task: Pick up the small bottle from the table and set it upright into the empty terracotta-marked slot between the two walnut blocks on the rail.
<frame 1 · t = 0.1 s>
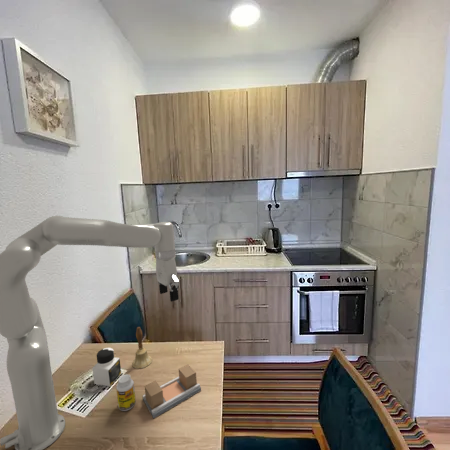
hand: (168, 296, 101), 31 cm above the table, fingers open, 9 cm apart
medicine bottle: (108, 379, 102), on the table
hand bell: (142, 362, 111), on the table
supplement bottle: (127, 405, 88), on the table
rail: (172, 394, 92), on the table
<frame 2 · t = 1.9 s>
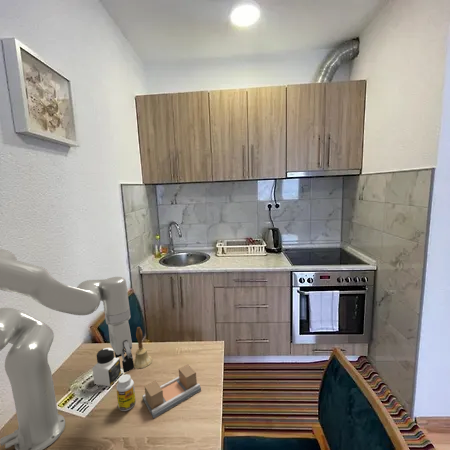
hand: (124, 362, 87), 16 cm above the table, fingers open, 9 cm apart
nothing on the table moved.
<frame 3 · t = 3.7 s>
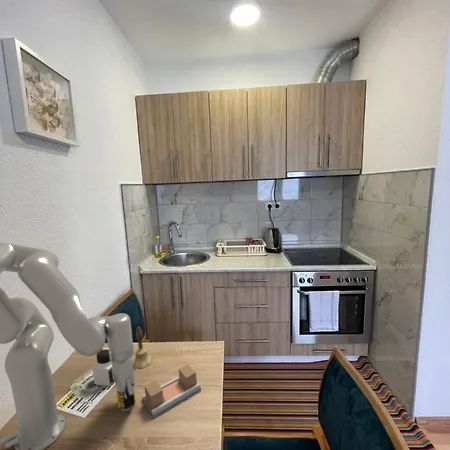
hand: (126, 399, 88), 2 cm above the table, fingers closed on supplement bottle, 5 cm apart
supplement bottle: (127, 405, 88), on the table, touching gripper
everything else where it was.
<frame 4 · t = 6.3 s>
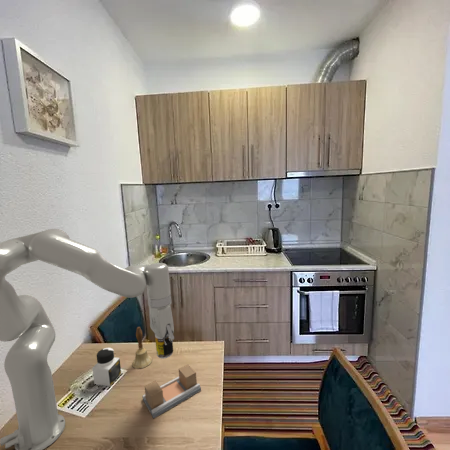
hand: (164, 349, 89), 18 cm above the table, fingers closed on supplement bottle, 5 cm apart
supplement bottle: (165, 354, 90), point 16 cm above the table, touching gripper
everything else where it was.
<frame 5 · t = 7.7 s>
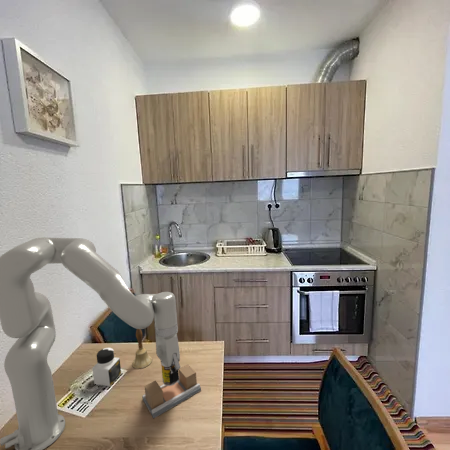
hand: (170, 375, 91), 7 cm above the table, fingers closed on supplement bottle, 5 cm apart
supplement bottle: (170, 381, 91), point 5 cm above the table, touching gripper
everything else where it was.
when the fingers open (4 cm above the table, at t = 8.8 s): supplement bottle stays where it is, resting on rail.
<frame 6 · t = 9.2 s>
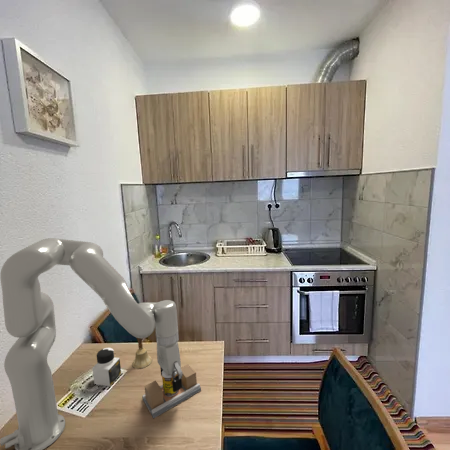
hand: (171, 381, 91), 5 cm above the table, fingers open, 9 cm apart
supplement bottle: (171, 392, 92), point 1 cm above the table, touching rail
everything else where it was.
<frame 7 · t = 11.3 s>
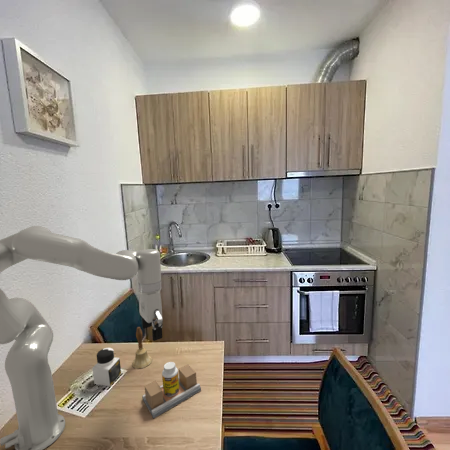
hand: (152, 332, 90), 23 cm above the table, fingers open, 9 cm apart
nothing on the table moved.
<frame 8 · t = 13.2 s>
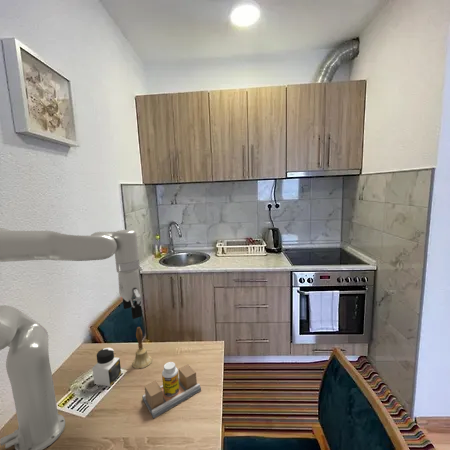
hand: (132, 312, 91), 30 cm above the table, fingers open, 9 cm apart
nothing on the table moved.
at the end: supplement bottle 0.2 cm off-centre on the rail, point 1.2 cm above the rail's base; supplement bottle tilted 0°; the gripper is holding nothing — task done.
